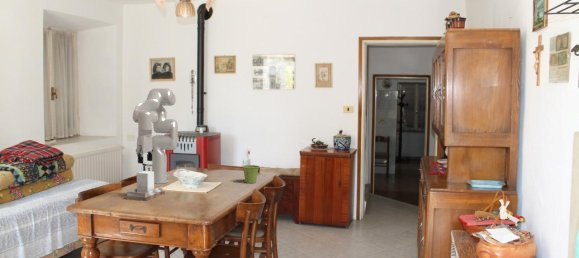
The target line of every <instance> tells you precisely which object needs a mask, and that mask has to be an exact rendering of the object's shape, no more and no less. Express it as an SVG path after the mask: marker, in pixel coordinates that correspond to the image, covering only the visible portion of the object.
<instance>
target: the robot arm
mask: <svg viewBox="0 0 579 258" xmlns="http://www.w3.org/2000/svg"><path fill="white" fill-rule="evenodd" d="M176 99H177V98H176V95H175V93H174V91H172V90H171V89H169V88H159V87H158V88H157V87H156V88H152V89H151V90H149V92H148V94H147V98H146V99H145V100H144V101H142V102H140V103H138V104H137V105H136V106H135V108H134V110H133V113H132V121H133V122H134V123H137V127H138V128H137V132H138V133H137V138H136V149H135V152H136V155H137V163H138V164H144V154H145V153H146V161H147V162H151V171H153V172H154V184H157V185H159V184H167V183H169V182H170V179H168V178H169V177H170V174H169V173H167V171H168V165H167V164H168V163H167V162H168V159H167V158H168V157H167V156H168V155H167V153H166V152H165V150H166V151H167V150H171V151H172V150H176V149H178V141H179V140H178V139H179V138H178V137H179V135H178V133H179V132H178V131H179V126H178V125H179V124H178V121H177V120H176V119H173V118H167V115H168V113H167V110H166V109H165V107H164V106H167V107H169V106H170V107H171V106H174V105H175V103H176ZM152 124H153V125H152ZM152 126H153V127H152ZM153 131H154V133H156V135H153ZM157 134H158V135H157ZM160 134H161V135H160ZM165 134H168V135H165ZM169 134H170V135H169Z"/></svg>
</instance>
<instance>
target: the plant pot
mask: <svg viewBox="0 0 579 258" xmlns="http://www.w3.org/2000/svg"><path fill="white" fill-rule="evenodd" d="M260 167H261V166H260V165H256V164H246V165H242V168H243V176H244V182H245V183H246V184H255V183H257V179H258V173H259V169H260Z"/></svg>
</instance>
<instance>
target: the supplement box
mask: <svg viewBox="0 0 579 258" xmlns="http://www.w3.org/2000/svg"><path fill="white" fill-rule="evenodd" d="M136 189H137V192H140V193H146V192H148V191H151V190H154V189H155V183H154V172H153V171H152V170H151V171H150V170H149V171H148V170H142V171H139V172H137V173H136Z"/></svg>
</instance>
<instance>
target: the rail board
mask: <svg viewBox="0 0 579 258" xmlns="http://www.w3.org/2000/svg"><path fill="white" fill-rule="evenodd" d="M163 189H164V188H163V186H159V187H157V188H154V190H151V191H148V192H146V193H140V192H137V188H134V189H131V190H128V191H126V195H125V196H124V199H125V200H133V201H137V200H138V201H147V202H148V201H150V200H152V199H154V198H155V199H156V198H157V197H159V196H162V195H165V193H166V191H165V190H163Z"/></svg>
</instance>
